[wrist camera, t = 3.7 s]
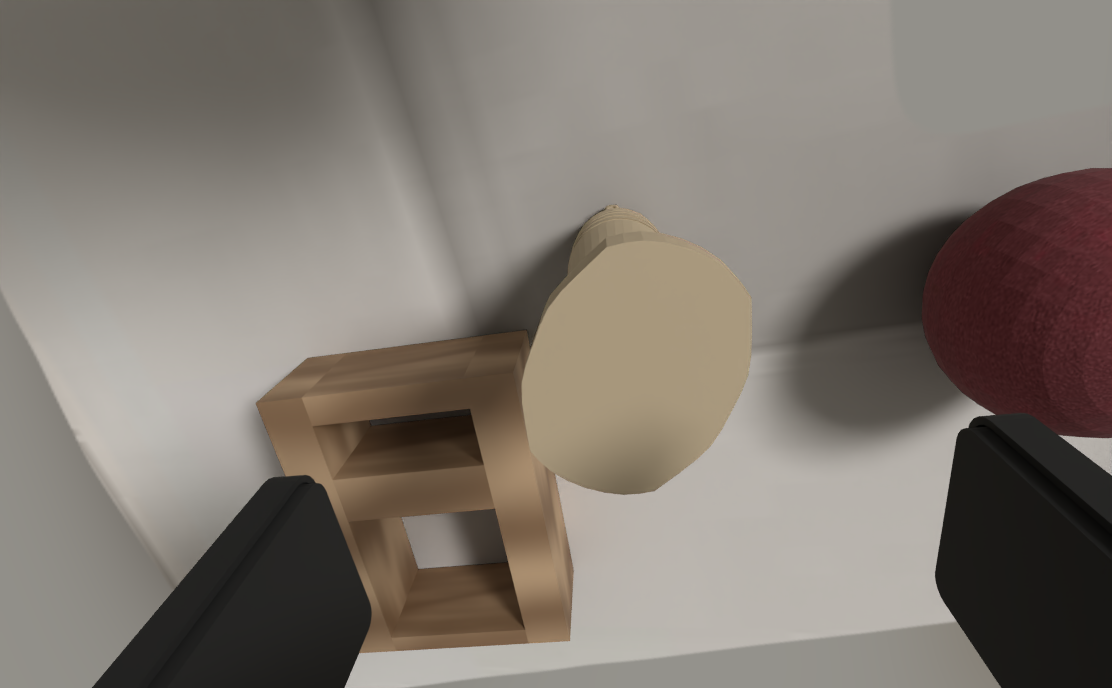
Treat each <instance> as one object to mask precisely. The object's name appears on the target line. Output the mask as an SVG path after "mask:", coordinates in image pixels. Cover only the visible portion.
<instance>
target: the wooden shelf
mask: <svg viewBox="0 0 1112 688" xmlns="http://www.w3.org/2000/svg"><path fill="white" fill-rule="evenodd" d="M529 351H530V344H529V339H528V334H527V330H522V331H514V332H507V333H499V334H491V335H483V336H475V337H468V338H460V339H452V340H444V341H436V342H429V343H421V344H413V345H405V346H398V347H390V348H382V349H374V350H366V351H359V352H351V353H343V354H335V355H328V356H320V357H312V358H307V359H306V360H305V361H304V362H302V363H301V364H300V365H299V366H298V367H297V368H296V369H294V370H293V371H292V372H291V373H290V374H289V375H288V376H286V377H285V378H284V379H283V380H282V381H281V382H279V383H278V384H277V385H276V386H275V387H274V388H273V389H271V390H270V391H269V392H268V393H267V394H266V395H264V396H263V397H262V398H261V399H260V400H259V401H258V402H256V405H257V408H258V410H259V413H260V415H261V417H262V420H263V422H264V425H265V427H266V430H267V432H268V434H269V437H270V439H271V442H272V444H273V447H274V449H275V452H276V454H277V456H278V459H279V461H280V464H281V466H282V469H283V471H284V473H285V476H297V475H308V476H311V477H312V478H313V479H314V481H315V482H316V483H320V484H322V485H323V486H324V488H325V489H326V491H327V494H328V497H329V499H330V502H331V504H332V507H333V509H334V512H335V514H336V517H337V519H338V522H339V525H340V527H341V530H342V532H343V535H344V537H345V540H346V542H347V545H348V548H349V550H350V553H351V555H352V558H353V560H354V563H355V565H356V568H357V570H358V573H359V576H360V578H361V581H362V583H363V586H364V588H365V591H366V593H367V596H368V599H369V601H370V604H371V610H372V617H371V624H370V627H369V631H368V633H367V635H366V638H365V640H364V642H363V645H362V647H361V649H360V652H359V653H369V652H387V651H404V650H421V649H439V648H456V647H473V646H491V645H508V644H525V643H543V642H560V641H570V629H571V610H572V591H573V572H574V570H573V565H572V559H571V554H570V549H569V544H568V539H567V534H566V529H565V524H564V518H563V513H562V508H561V503H560V498H559V493H558V488H557V483H556V478H555V473H553V472H551V471H550V470H549V469H548V468H547V467H545V466H544V465H543V464H542V463H541V462H540V461H539V460H538V459H537V458H536V457H535V456H534V455H533V454H532V452H531V451H530V447H529V442H528V436H527V431H526V425H525V419H524V412H523V406H522V379H523V374H524V368H525V364H526V361H527V357H528V354H529ZM463 409H470V411H471V415H465V416H456V417H447V418H438V419H429V420H420V421H411V422H402V423H393V424H384V425H375V426H371V424H370V421H369V420H374V419H382V418H391V417H400V416H409V415H418V414H427V413H436V412H445V411H454V410H463ZM486 509H495V511H496V515H497V519H498V523H499V527H500V531H501V535H502V539H503V543H504V547H505V551H506V555H507V559H508V562H507V563H494V564H481V565H468V566H455V567H441V568H428V569H418V567H417V564H416V561H415V558H414V555H413V552H412V549H411V546H410V543H409V540H408V537H407V534H406V531H405V528H404V525H403V522H402V519H401V517H407V516H418V515H430V514H441V513H452V512H463V511H475V510H486Z"/></svg>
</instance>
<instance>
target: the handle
mask: <svg viewBox="0 0 1112 688" xmlns="http://www.w3.org/2000/svg"><path fill="white" fill-rule="evenodd" d="M751 339H752V306H751V296H750V295H749V293H748V292H747V290H746V289H745V287H744V286H743V284H742V283H741V282H740V281H739V279H738V278H737V277H736V276H735V275H734V274H733V272H732V271H731V270H730V269H729V268H728V267H727V266H726V265H725V264H724V263H723V262H722V261H721V260H720V259H719V258H717V257H716V256H714V255H713V254H711V253H710V252H708V251H707V250H705V249H704V248H702V247H700V246H697V245H695V244H693V243H691V242H689V241H686V240H684V239H681V238H678V237H674V236H670V235H666V234H662V233H659V231H658V230H657V229H656V227H655V226H654V225H653V224H652V223H651V222H650V221H649V220H648V219H646V218H645V217H644V216H643V215H642V214H640V213H637V212H635V211H632V210H629V209H624V208H619V207H618V206H617V205H609V206H606V208H605V210H604V211H602V212H599V213H598V214H596V215H594V216H593V217H592V218H590V219H589V220H588V221H587V222H586V223H585V224H584V225H583V227H582V228H581V230H580V232H579V233H578V236H577V238H576V240H575V242H574V245H573V247H572V251H571V255H570V259H569V263H568V275H567V276H566V277H565V279H564V280H563V281H562V282H561V283H560V284H559V285H558V286H557V288H556V289H555V290H554V291H553V292H552V293H551V294H550V296H549V299H548V301H547V303H546V305H545V308H544V310H543V313H542V316H541V319H540V322H539V325H538V327H537V330H536V333H535V336H534V339H533V342H532V345H531V348H530V351H529V354H528V357H527V361H526V364H525V368H524V374H523V379H522V406H523V412H524V419H525V425H526V431H527V436H528V442H529V447H530V451H531V452H532V454H533V455H534V456H535V457H536V458H537V459H538V460H539V461H540V462H541V463H542V464H543V465H544V466H545V467H547V468H548V469H549V470H550V471H551V472H553V473H555V474H557V475H558V476H560V477H562V478H564V479H565V480H567V481H570V482H572V483H575V484H577V485H580V486H582V487H585V488H588V489H592V490H597V491H601V492H605V493H613V494H622V495H626V494H640V493H646V492H651V491H655V490H657V489H658V488H659V487H661V486H662V485H663V484H665V483H666V482H668V481H669V480H670V479H672V478H673V477H674V476H676V475H677V474H679V473H680V472H681V471H682V470H684V469H685V468H686V467H688V466H689V465H690V464H692V463H693V462H694V461H695V460H697V459H698V458H699V457H700V456H701V455H702V454H703V453H704V452H705V451H706V450H707V449H708V448H709V447H710V446H711V445H712V443H713V442H714V440H715V439H716V437H717V436H718V435H719V433H720V432H721V430H722V428H723V426H724V424H725V423H726V421H727V419H728V417H729V415H730V413H731V411H732V409H733V408H734V406H735V404H736V402H737V400H738V398H739V396H740V394H741V392H742V389H743V387H744V384H745V382H746V379H747V377H748V373H749V366H750V360H751Z"/></svg>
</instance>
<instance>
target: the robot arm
mask: <svg viewBox="0 0 1112 688" xmlns="http://www.w3.org/2000/svg"><path fill="white" fill-rule="evenodd" d="M935 578H936V584H937V588H938V591H939V593H940V596H941V598H942V599H943V601H944V603H945V604H946V606H947V607H948V609H949V610H950V612H951V613H952V615H953V616H954V618H955V619H956V621H957V622H958V624H959V625H960V627H961V628H962V630H963V631H964V633H965V634H966V636H967V637H968V639H969V640H970V642H971V643H972V644H973V646H974V647H975V649H976V650H977V652H978V653H979V655H980V657H981V658H982V659H983V661H984V663H985V664H986V666H987V667H988V668H989V670H990V672H991V673H992V675H993V676H994V677H995V679H996V680H997V682H998V683H999V685H1000V686H1001V688H1112V476H1111V475H1110V474H1109V473H1107V472H1106V471H1105V470H1103V469H1102V468H1101V467H1100V466H1098V465H1097V464H1096V463H1094V462H1093V461H1092V460H1090V459H1089V458H1088V457H1086V456H1085V455H1084V454H1082V453H1081V452H1080V451H1078V450H1077V449H1076V448H1075V447H1073V446H1072V445H1071V444H1069V443H1068V442H1067V441H1065V440H1064V439H1063V438H1061V437H1060V436H1059V435H1057V434H1056V433H1055V432H1053V431H1052V430H1051V429H1050V428H1048V427H1047V426H1046V425H1044V424H1043V423H1042V422H1040V421H1039V420H1038V419H1036V418H1035V417H1033V416H1031V415H1029V414H1027V413H1013V414H1002V415H990V416H979V417H976V418H974V419H973V420H972V421H971V423H970V424H969V428H965V429H962V430H961V431H960V432H959V433H958V436H957V439H956V446H955V452H954V458H953V464H952V471H951V477H950V483H949V489H948V496H947V502H946V508H945V514H944V521H943V527H942V533H941V539H940V546H939V552H938V558H937V564H936V571H935ZM371 617H372V610H371V604H370V601H369V599H368V596H367V593H366V591H365V588H364V586H363V583H362V581H361V578H360V576H359V573H358V570H357V568H356V565H355V563H354V560H353V558H352V555H351V553H350V550H349V548H348V545H347V542H346V540H345V537H344V535H343V532H342V530H341V527H340V525H339V522H338V519H337V517H336V514H335V512H334V509H333V507H332V504H331V502H330V499H329V497H328V494H327V491H326V489H325V488H324V486H323V485H322V484H320V483H316V482H315V481H314V479H313V478H312V477H311V476H308V475H297V476H285V477H274V478H271V479H268V480H267V481H266V482H265V483H264V484H263V485H262V486H261V487H260V489H259V490H258V491H257V492H256V493H255V494H254V496H253V497H252V498H251V499H250V500H249V502H248V503H247V504H246V505H245V506H244V508H243V509H242V510H241V511H240V512H239V513H238V515H237V516H236V517H235V518H234V519H233V521H232V522H231V523H230V524H229V525H228V527H227V528H226V529H225V530H224V531H223V533H222V534H221V535H220V536H219V537H218V538H217V540H216V541H215V542H214V543H213V544H212V546H211V547H210V548H209V549H208V550H207V552H206V553H205V554H204V555H203V556H202V557H201V559H200V560H199V561H198V562H197V563H196V565H195V566H194V567H193V568H192V569H191V571H190V572H189V573H188V574H187V575H186V577H185V578H184V579H183V580H182V581H181V582H180V584H179V585H178V586H177V587H176V588H175V590H174V591H173V592H172V593H171V594H170V596H169V597H168V598H167V599H166V600H165V601H164V603H163V604H162V605H161V606H160V607H159V609H158V610H157V611H156V612H155V613H154V615H153V616H152V617H151V618H150V620H149V621H148V622H147V623H146V624H145V625H144V626H143V628H142V629H141V630H140V631H139V633H138V634H137V635H136V636H135V637H134V639H133V640H132V641H131V642H130V643H129V645H127V647H126V648H125V649H124V650H123V651H122V653H121V654H120V655H119V656H118V657H117V659H116V660H115V661H114V662H113V663H112V665H111V666H110V667H109V668H108V669H107V671H106V672H105V673H104V674H103V675H102V677H101V678H100V679H99V680H98V681H97V682H96V684H95V685H94V686H93V687H92V688H344V687H345V685H346V683H347V680H348V678H349V676H350V673H351V671H352V668H353V666H354V664H355V661H356V659H357V657H358V654H359V652H360V649H361V647H362V645H363V642H364V640H365V638H366V635H367V633H368V631H369V627H370V624H371Z"/></svg>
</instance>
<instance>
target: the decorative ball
mask: <svg viewBox="0 0 1112 688" xmlns="http://www.w3.org/2000/svg"><path fill="white" fill-rule="evenodd" d="M922 322H923V327H924V333H925V337H926V339H927V342H928V344H929V346H930V348H931V351H932V353H933V355H934V357H935V359H936V361H937V363H938V366H939V367H940V368H941V369H942V370H943V372H944V373H945V374H946V375H947V376H948V378H949V379H950V380H951V381H952V382H953V383H954V384H955V385H956V386H957V387H958V388H959V389H960V391H961V392H962V393H964V394H965V395H966V396H968V397H969V398H971V399H972V400H973V401H975V402H976V403H977V404H979V405H980V406H982V407H984V408H985V409H987V410H989V411H990V412H992V413H994V414H995V415H1002V414H1013V413H1027V414H1029V415H1031V416H1033V417H1035V418H1036V419H1038V420H1039V421H1040V422H1042V423H1043V424H1044V425H1046V426H1047V427H1048V428H1050V429H1051V430H1052V431H1053V432H1055V433H1056V434H1057V435H1063V436H1075V437H1091V438H1112V168H1090V169H1084V170H1079V171H1073V172H1067V173H1062V174H1058V175H1054V176H1050V177H1046V178H1042V179H1040V180H1037V181H1034V182H1031V183H1028V184H1025V185H1023V186H1020V187H1017V188H1015V189H1013V190H1011V191H1010V192H1008V193H1006V194H1004V195H1002V196H1000V197H998V198H997V199H995V200H993V201H991V202H990V203H988V204H987V205H985V206H984V207H983V208H981V209H980V210H979V211H977V212H976V213H975V214H973V215H972V216H971V217H969V218H968V219H967V220H965V221H964V222H963V223H962V224H961V225H960V226H959V227H958V228H957V229H956V230H955V232H954V233H953V234H952V235H951V236H950V237H949V238H948V239H947V241H946V242H945V244H944V245H943V247H942V248H941V249H940V251H939V252H938V254H937V255H936V257H935V260H934V262H933V264H932V266H931V268H930V270H929V272H928V275H927V279H926V283H925V287H924V291H923V301H922Z"/></svg>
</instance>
